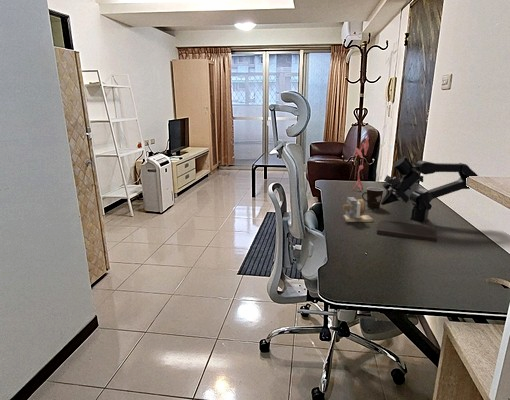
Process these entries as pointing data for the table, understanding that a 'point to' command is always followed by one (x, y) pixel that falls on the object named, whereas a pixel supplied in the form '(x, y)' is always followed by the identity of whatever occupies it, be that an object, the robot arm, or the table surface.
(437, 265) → the table surface
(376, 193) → the coffee mug
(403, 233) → the hardcover book
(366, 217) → the base
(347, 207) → the tan egg-shaped dome
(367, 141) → the figurine
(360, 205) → the spacer
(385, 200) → the robot arm
